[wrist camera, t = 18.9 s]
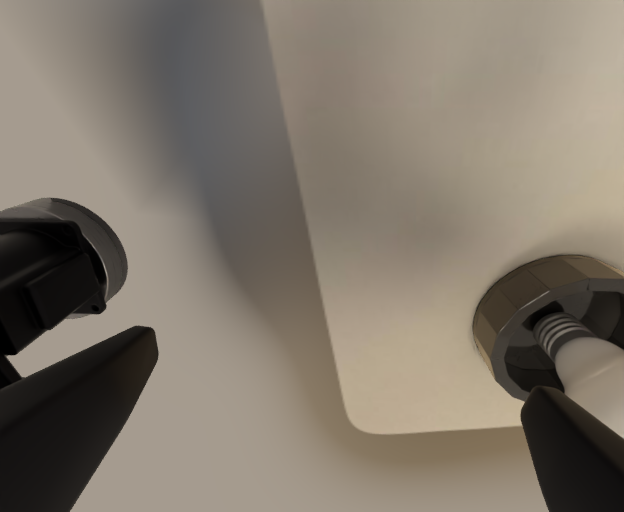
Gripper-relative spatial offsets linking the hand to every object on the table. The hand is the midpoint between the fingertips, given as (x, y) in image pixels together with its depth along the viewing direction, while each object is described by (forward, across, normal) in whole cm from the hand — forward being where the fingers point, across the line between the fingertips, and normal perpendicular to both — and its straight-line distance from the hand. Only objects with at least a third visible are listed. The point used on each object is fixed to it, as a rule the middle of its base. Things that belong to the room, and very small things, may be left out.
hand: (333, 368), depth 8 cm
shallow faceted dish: (+14, -14, +6) cm, 21 cm away
